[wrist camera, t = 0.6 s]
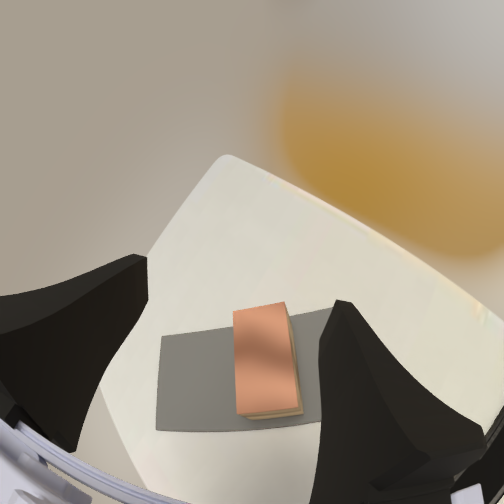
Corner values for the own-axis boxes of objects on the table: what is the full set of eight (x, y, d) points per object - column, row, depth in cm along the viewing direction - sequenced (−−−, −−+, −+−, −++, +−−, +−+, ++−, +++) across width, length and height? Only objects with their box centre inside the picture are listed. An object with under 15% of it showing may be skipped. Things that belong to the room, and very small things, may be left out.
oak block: (303, 414, 23) (298, 406, 19) (252, 420, 24) (236, 413, 20) (291, 324, 30) (284, 301, 26) (247, 332, 30) (233, 311, 27)
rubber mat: (357, 413, 22) (357, 412, 22) (156, 430, 25) (155, 429, 25) (335, 307, 30) (335, 306, 30) (162, 336, 33) (161, 336, 33)
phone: (552, 413, 11) (472, 531, 8) (546, 415, 12) (468, 529, 8) (519, 379, 16) (433, 499, 13) (514, 382, 17) (430, 498, 13)
